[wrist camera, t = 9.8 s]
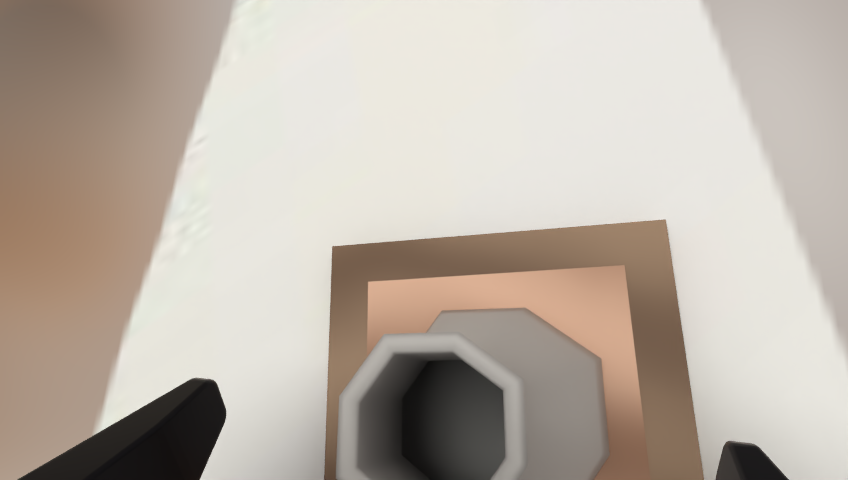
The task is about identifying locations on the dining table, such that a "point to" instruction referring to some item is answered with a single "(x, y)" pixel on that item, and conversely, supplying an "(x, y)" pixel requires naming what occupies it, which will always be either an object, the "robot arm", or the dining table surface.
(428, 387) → the flask
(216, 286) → the dining table surface
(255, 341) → the dining table surface
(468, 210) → the dining table surface
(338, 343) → the walnut board
